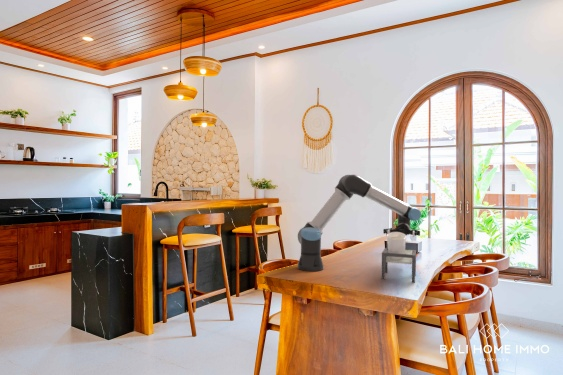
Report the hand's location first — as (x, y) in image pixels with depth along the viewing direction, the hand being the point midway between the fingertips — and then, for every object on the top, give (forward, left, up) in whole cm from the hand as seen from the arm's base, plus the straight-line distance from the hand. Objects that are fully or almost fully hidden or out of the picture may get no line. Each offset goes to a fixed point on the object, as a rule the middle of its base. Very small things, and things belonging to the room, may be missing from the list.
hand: (400, 233), depth 215 cm
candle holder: (-1, -8, -11) cm, 14 cm away
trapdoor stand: (0, -8, -23) cm, 24 cm away
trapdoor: (0, -7, -12) cm, 14 cm away
